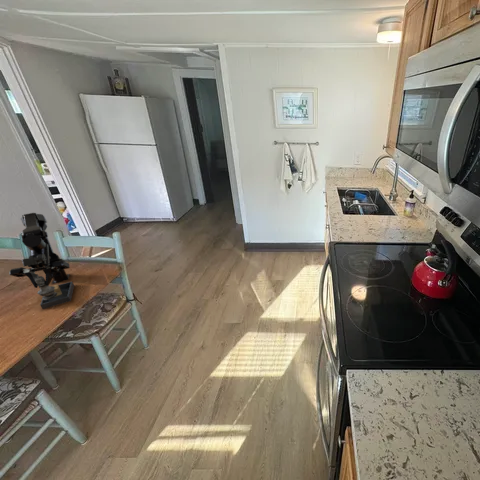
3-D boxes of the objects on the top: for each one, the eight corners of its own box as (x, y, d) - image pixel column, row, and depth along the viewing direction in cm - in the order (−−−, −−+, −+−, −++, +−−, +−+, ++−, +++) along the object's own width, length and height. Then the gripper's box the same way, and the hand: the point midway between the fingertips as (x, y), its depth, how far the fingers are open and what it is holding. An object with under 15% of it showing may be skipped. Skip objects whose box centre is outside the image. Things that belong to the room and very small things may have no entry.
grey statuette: (47, 301, 121) (34, 279, 115) (37, 299, 122) (24, 278, 116) (61, 293, 126) (49, 272, 120) (51, 291, 127) (39, 270, 122)
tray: (49, 292, 134) (46, 288, 132) (74, 286, 139) (72, 281, 137) (43, 309, 123) (39, 304, 121) (71, 301, 128) (68, 296, 126)
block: (50, 294, 132) (46, 287, 130) (61, 290, 134) (57, 284, 132) (51, 298, 129) (47, 291, 127) (61, 294, 132) (58, 287, 130)
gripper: (-1, 253, 113) (-1, 289, 109) (55, 245, 120) (57, 278, 116) (18, 260, 123) (19, 293, 119) (68, 251, 130) (71, 282, 126)
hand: (41, 286), depth 120 cm, fingers closed on grey statuette, 3 cm apart
